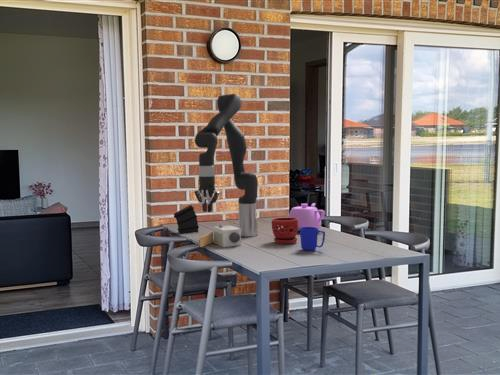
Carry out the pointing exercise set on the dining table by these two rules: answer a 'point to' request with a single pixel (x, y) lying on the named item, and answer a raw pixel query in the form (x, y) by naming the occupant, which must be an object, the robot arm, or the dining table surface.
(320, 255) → the dining table surface
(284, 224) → the plant pot
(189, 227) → the black ridged block
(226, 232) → the camera body
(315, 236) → the mug
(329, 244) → the dining table surface
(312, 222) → the teapot
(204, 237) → the tan wooden plank
